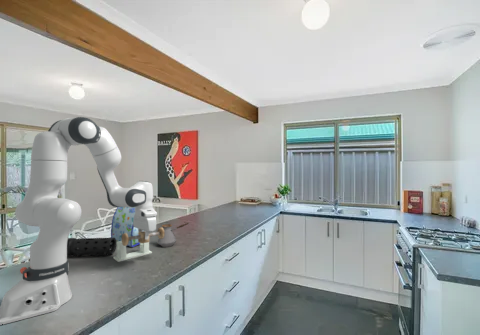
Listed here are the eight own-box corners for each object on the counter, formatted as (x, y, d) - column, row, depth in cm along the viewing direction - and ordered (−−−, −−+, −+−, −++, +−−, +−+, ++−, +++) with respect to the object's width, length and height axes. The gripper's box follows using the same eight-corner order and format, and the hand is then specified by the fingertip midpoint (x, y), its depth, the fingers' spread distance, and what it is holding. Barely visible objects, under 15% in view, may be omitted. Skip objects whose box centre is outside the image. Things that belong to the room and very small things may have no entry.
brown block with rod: (125, 246, 122) (126, 234, 122) (121, 244, 127) (121, 232, 127) (164, 239, 137) (164, 228, 137) (159, 237, 141) (159, 226, 141)
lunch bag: (152, 241, 170) (151, 203, 171) (131, 248, 156) (131, 206, 156) (130, 237, 181) (129, 201, 181) (108, 243, 166) (108, 204, 166)
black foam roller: (109, 258, 140) (109, 239, 140) (57, 259, 138) (57, 241, 138) (116, 252, 149) (116, 235, 149) (68, 253, 148) (68, 236, 148)
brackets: (118, 261, 134) (117, 244, 134) (113, 258, 139) (113, 242, 139) (152, 253, 147) (151, 237, 147) (146, 250, 152) (146, 235, 152)
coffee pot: (154, 247, 157) (154, 223, 158) (163, 242, 169) (162, 219, 169) (186, 249, 154) (185, 224, 154) (193, 243, 165) (192, 220, 165)
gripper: (130, 210, 137) (129, 235, 137) (146, 214, 123) (146, 242, 122) (141, 209, 142) (141, 233, 141) (158, 213, 127) (158, 240, 127)
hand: (143, 238), depth 132 cm, fingers closed on brown block with rod, 4 cm apart
